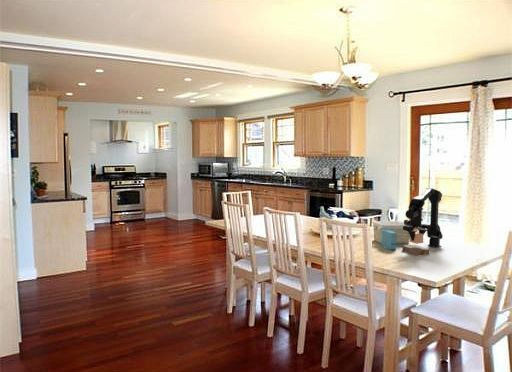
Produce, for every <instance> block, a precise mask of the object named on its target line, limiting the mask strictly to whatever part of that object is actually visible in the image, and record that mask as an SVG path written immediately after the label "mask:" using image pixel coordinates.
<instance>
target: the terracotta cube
mask: <svg viewBox="0 0 512 372" xmlns="http://www.w3.org/2000/svg"><path fill="white" fill-rule="evenodd" d="M409 243H413V244H415V245H417V244H424V235H423V234H422V233H419V231H418V232H415V236H414V240H413V241H412V240H411V237H410V238H409Z"/></svg>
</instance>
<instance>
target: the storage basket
mask: <svg viewBox="0 0 512 372" xmlns="http://www.w3.org/2000/svg"><path fill="white" fill-rule="evenodd" d="M372 225H373V241H376V242H377V243H379V244H381V237H382V230H390V231H393V232H396V234H397V244H398V245H399V244H410V242H409V239H410V234H409V232H408V231H406V230H403V226H406V225H404V220H403V221H402V220H375V221H372ZM397 244H396V245H397Z"/></svg>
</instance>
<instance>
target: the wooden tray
mask: <svg viewBox="0 0 512 372" xmlns="http://www.w3.org/2000/svg"><path fill="white" fill-rule="evenodd" d="M401 250H402V252H404V253H408V254H410V255H413V256H416V257H419V255H421V256H428V255H430V248H426V247H424V246H421V245H417V244H407V245H404V244H403V245H402V249H401Z"/></svg>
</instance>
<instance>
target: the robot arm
mask: <svg viewBox="0 0 512 372" xmlns="http://www.w3.org/2000/svg"><path fill="white" fill-rule="evenodd" d="M442 197H443V193H442V192H441V191H440V190H437V189H436V188H433V187H426V188H425V190H424V191H423V192H422V193H421V194H419V195H418V196H415V197H412V199H411V200H410V202H409V205H408V210H406V211H405V218H406V219H404V220H403V222H404V225H406V226H403V230H406V231H408V232H409V234H410V237H411V240H412V241H413V240H414V236H415V232H416V230H417V231H418V233H422V234H423V236H424V235H425V233H426V235H427V238H429V240H428V241H429V243H428V244H427V247H432V248H441V247H442V246H441V240H442V239H443V234H442V231H441V227H440V225H439V204H440V203H441V201H442ZM427 200H428V201H429V203H430V224H427V223H422V221H424V218H422V216H423V210H424V208H423V207H424V205H425V204H426V203H425V202H426V201H427ZM408 219H410V220H408Z"/></svg>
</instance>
